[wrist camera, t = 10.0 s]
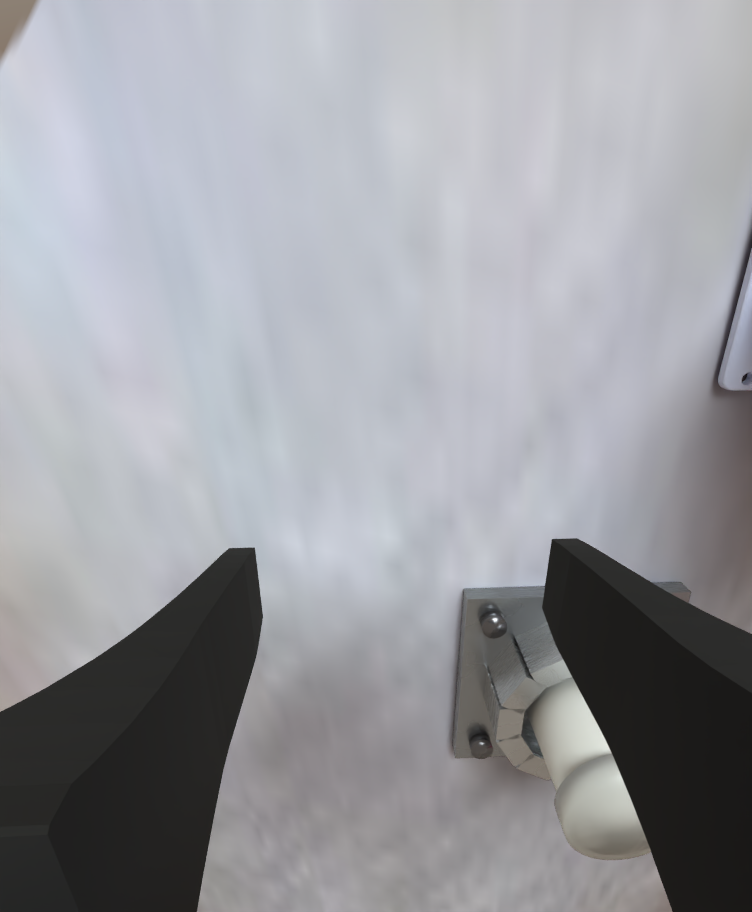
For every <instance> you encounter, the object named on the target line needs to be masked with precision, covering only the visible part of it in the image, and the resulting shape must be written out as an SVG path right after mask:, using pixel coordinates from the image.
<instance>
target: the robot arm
mask: <svg viewBox="0 0 752 912" xmlns="http://www.w3.org/2000/svg"><path fill="white" fill-rule="evenodd" d="M746 373H747V378H746V380H745V381H743V382H742V377H743V376H744V375H745V374H746ZM718 383H719V385H720V386H721V387H722V388H724V389H727V390H731V391H742V390H752V250H751V253H750V257H749V261H748V265H747V269H746V273H745V277H744V281H743V284H742V288H741V292H740V296H739V300H738V304H737V308H736V311H735V315H734V319H733V323H732V327H731V331H730V335H729V338H728V342H727V346H726V350H725V354H724V358H723V362H722V365H721V369H720V373H719V377H718ZM542 609H543V612H544V615H545V618H546V621H547V623H548V626H549V629H550V632H551V634H552V637H553V639H554V642H555V645H556V647H557V649H558V651H559V653H560V655H561V657H562V658H563V660H564V662H565V664H566V666H567V668H568V670H569V672H570V674H571V676H572V678H573V679H574V681H575V683H576V685H577V687H578V689H579V691H580V693H581V694H582V696H583V698H584V700H585V702H586V704H587V706H588V707H589V709H590V711H591V713H592V715H593V717H594V719H595V721H596V722H597V724H598V726H599V728H600V730H601V732H602V734H603V736H604V738H605V740H606V742H607V744H608V746H609V748H610V751H611V753H612V755H613V757H614V760H615V762H616V765H617V767H618V769H619V772H620V774H621V777H622V779H623V782H624V784H625V786H626V789H627V791H628V794H629V796H630V798H631V801H632V804H633V806H634V809H635V811H636V814H637V816H638V819H639V822H640V824H641V827H642V829H643V832H644V834H645V837H646V840H647V842H648V845H649V847H650V850H651V853H652V855H653V858H654V861H655V864H656V866H657V869H658V872H659V875H660V878H661V880H662V883H663V886H664V889H665V891H666V894H667V897H668V900H669V903H670V905H671V908H672V911H673V912H752V634H750V633H748V632H746V631H744V630H742V629H740V628H737V627H735V626H733V625H731V624H729V623H727V622H725V621H722V620H720V619H718V618H716V617H714V616H712V615H710V614H708V613H706V612H704V611H702V610H700V609H698V608H696V607H695V606H693V605H691V604H689V603H687V602H685V601H684V600H682V599H680V598H678V597H676V596H674V595H672V594H671V593H669V592H667V591H665V590H664V589H662V588H660V587H658V586H657V585H655V584H653V583H652V582H650V581H648V580H646V579H645V578H643V577H641V576H640V575H638V574H636V573H635V572H633V571H632V570H630V569H628V568H627V567H625V566H623V565H622V564H620V563H618V562H617V561H615V560H614V559H612V558H610V557H609V556H607V555H605V554H604V553H602V552H600V551H599V550H597V549H595V548H594V547H592V546H590V545H588V544H587V543H585V542H583V541H581V540H579V539H552V543H551V550H550V556H549V563H548V570H547V577H546V583H545V590H544V597H543V604H542ZM262 619H263V614H262V605H261V597H260V588H259V580H258V571H257V563H256V555H255V548H229V549H228V550H227V551H226V552H224V553H223V554H222V555H221V556H220V557H219V558H218V559H217V560H216V561H215V562H214V563H213V564H212V565H211V566H210V567H208V568H207V569H206V570H205V571H204V572H203V573H202V574H201V575H200V576H199V577H198V578H197V579H196V580H195V581H193V582H192V583H191V584H190V585H189V586H188V587H187V588H186V589H185V590H184V591H182V592H181V593H180V594H179V595H178V596H177V597H176V598H175V599H173V600H172V601H171V602H170V603H169V604H167V605H166V606H165V607H164V608H162V609H161V610H160V611H159V612H158V613H156V614H155V615H154V616H153V617H152V618H150V619H149V620H148V621H147V622H145V623H144V624H143V625H142V626H140V627H139V628H138V629H136V630H135V631H134V632H132V633H131V634H130V635H128V636H127V637H126V638H124V639H123V640H121V641H120V642H118V643H117V644H116V645H114V646H113V647H111V648H110V649H108V650H107V651H105V652H104V653H102V654H101V655H99V656H98V657H96V658H95V659H93V660H92V661H90V662H88V663H87V664H85V665H83V666H82V667H80V668H78V669H77V670H75V671H73V672H72V673H70V674H68V675H67V676H65V677H63V678H62V679H60V680H58V681H57V682H55V683H54V684H52V685H50V686H49V687H47V688H45V689H43V690H41V691H40V692H38V693H36V694H34V695H32V696H30V697H28V698H26V699H25V700H23V701H21V702H19V703H17V704H15V705H13V706H11V707H9V708H7V709H5V710H3V711H1V712H0V912H197V907H198V901H199V895H200V890H201V884H202V878H203V872H204V867H205V861H206V856H207V851H208V845H209V840H210V834H211V829H212V824H213V818H214V813H215V808H216V803H217V798H218V793H219V788H220V783H221V778H222V773H223V769H224V765H225V761H226V757H227V753H228V749H229V746H230V742H231V739H232V736H233V732H234V729H235V726H236V723H237V719H238V716H239V713H240V709H241V706H242V703H243V699H244V696H245V693H246V689H247V686H248V683H249V679H250V676H251V673H252V669H253V666H254V662H255V659H256V655H257V649H258V644H259V638H260V632H261V625H262Z"/></svg>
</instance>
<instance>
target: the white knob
mask: <svg viewBox="0 0 752 912" xmlns="http://www.w3.org/2000/svg"><path fill="white" fill-rule="evenodd" d="M526 712H527V715H528V718H529V720H530V723H531V725H532V728H533V731H534V733H535V736H536V739H537V741H538V744H539V747H540V749H541V752H542V755H543V757H544V760H545V763H546V765H547V768H548V770H549V773H550V776H551V778H552V781H553V784H554V786H555V789H556V792H557V793H556V796H555V809H556V812H557V815H558V818H559V820H560V823H561V826H562V829H563V831H564V834H565V837H566V839H567V841H568V843H569V844H570V846H572V847H573V848H574V849H575V850H576V851H578V852H579V853H581V854H583V855H585V856H588V857H591V858H596V859H603V860H622V859H629V858H634V857H638V856H641V855H645V854H647V853H650V852H651V850H650V847H649V845H648V842H647V840H646V837H645V834H644V832H643V829H642V827H641V824H640V822H639V819H638V816H637V814H636V811H635V809H634V806H633V804H632V801H631V798H630V796H629V794H628V791H627V789H626V786H625V784H624V782H623V779H622V777H621V774H620V772H619V769H618V767H617V765H616V762H615V760H614V757H613V755H612V753H611V751H610V748H609V746H608V744H607V742H606V740H605V738H604V736H603V734H602V732H601V730H600V728H599V726H598V724H597V722H596V721H595V719H594V717H593V715H592V713H591V711H590V709H589V707H588V706H587V704H586V702H585V700H584V698H583V696H582V694H581V693H580V691H579V689H578V687H577V685H576V683H575V681H574V679H573V678H572V677H571V678H568V679H566V680H564V681H562V682H559V683H557V684H555V685H553V686H550V687H548V688H546V689H544V690H543V692H542V693H541V694H540V695H539V696H538V697H537V698H536V699H535V700H534V702H533V703H532V704H531V705H530V706H529V707H528V708H527V709H526Z"/></svg>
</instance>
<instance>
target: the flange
mask: <svg viewBox="0 0 752 912" xmlns="http://www.w3.org/2000/svg"><path fill="white" fill-rule="evenodd" d="M653 584H655V585H657V586H658V587H660V588H662V589H664V590H665V591H667V592H669V593H671V594H672V595H674V596H676V597H678V598H680V599H682V600H684V601H685V602H687V603H688V601H689V598H690V594H691V591H690V590H689V589H688V588H687V587H686V586H684V585H683V584H682V583H681V582H666V583H653ZM544 590H545V586H540V587H508V588H477V589H464V593H463V607H462V621H461V635H460V649H459V662H458V676H457V690H456V704H455V718H454V732H453V750H454V755H455V758H474V757H475V758H478V759H484V758H487V757H497V756H506V757H507V758H508V759H509V761H510V762H511V764H512V765H513V766H516V768H517V769H518V770H521V771H524V772H526V773H529V774H532V775H534V776H537V777H540V778H542V779H545V780H548V781H549V780H550V779H551V776H550V773H549V770H548V768H547V765H546V763H545V760H544V757H543V755H542V752H541V749H540V747H539V744H538V741H537V739H536V736H535V733H534V731H533V728H532V725H531V723H530V720H529V718H528V715H527V712H526V709H527V708H528V707H529V706H530V705H531V704H532V703H533V702H534V700H535V699H536V698H537V697H538V696H539V695H540V694H541V693H542V692H543V690H544V689H546V688H548V687H550V686H553V685H555V684H557V683H559V682H562V681H564V680H566V679H568V678H571V677H572V676H571V674H570V672H569V670H568V668H567V666H566V664H565V662H564V660H563V658H562V657H561V655H560V653H559V651H558V649H557V647H556V645H555V642H554V639H553V637H552V634H551V632H550V629H549V626H548V623H547V621H546V618H545V615H544V612H543V609H542V604H543V597H544Z"/></svg>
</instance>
